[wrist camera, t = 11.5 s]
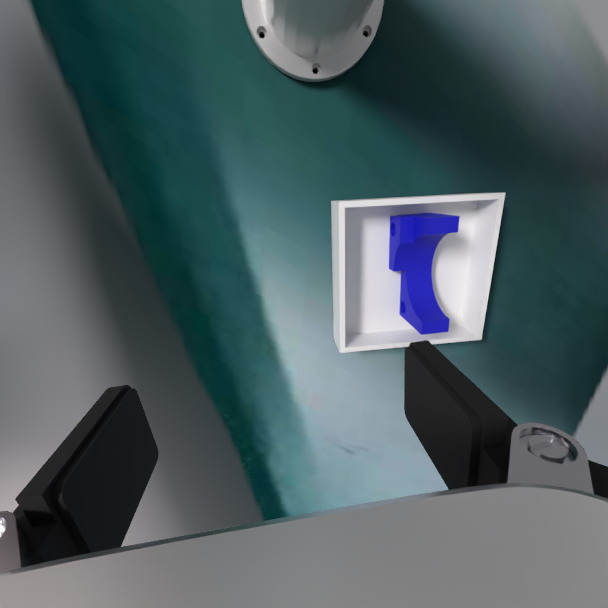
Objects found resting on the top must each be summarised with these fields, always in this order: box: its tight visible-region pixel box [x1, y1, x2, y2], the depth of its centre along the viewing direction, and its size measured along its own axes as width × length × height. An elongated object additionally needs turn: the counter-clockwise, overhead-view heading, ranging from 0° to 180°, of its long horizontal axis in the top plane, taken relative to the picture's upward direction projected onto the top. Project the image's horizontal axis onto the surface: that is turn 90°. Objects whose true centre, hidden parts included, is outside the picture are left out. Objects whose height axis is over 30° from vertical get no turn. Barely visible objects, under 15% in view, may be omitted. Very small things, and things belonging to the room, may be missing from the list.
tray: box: [331, 193, 505, 353], centre depth 35 cm, size 17×17×4 cm
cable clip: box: [389, 213, 460, 335], centre depth 34 cm, size 12×4×6 cm, turn 4°
